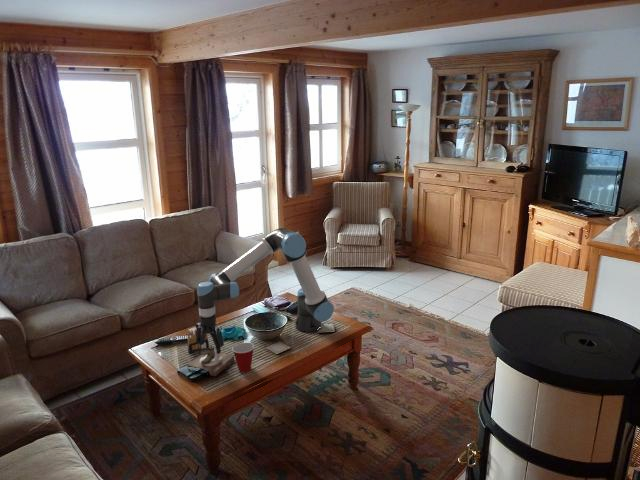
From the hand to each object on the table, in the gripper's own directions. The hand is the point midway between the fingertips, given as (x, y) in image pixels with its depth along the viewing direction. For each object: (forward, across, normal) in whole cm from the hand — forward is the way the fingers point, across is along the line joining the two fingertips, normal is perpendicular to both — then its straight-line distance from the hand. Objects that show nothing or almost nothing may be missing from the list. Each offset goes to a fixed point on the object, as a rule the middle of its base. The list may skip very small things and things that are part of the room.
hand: (211, 357), depth 234 cm
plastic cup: (+4, -17, -3) cm, 18 cm away
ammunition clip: (+4, +15, -10) cm, 19 cm away
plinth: (+4, 0, 0) cm, 4 cm away
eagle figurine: (+1, 0, +1) cm, 1 cm away
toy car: (+5, +9, -29) cm, 31 cm away
